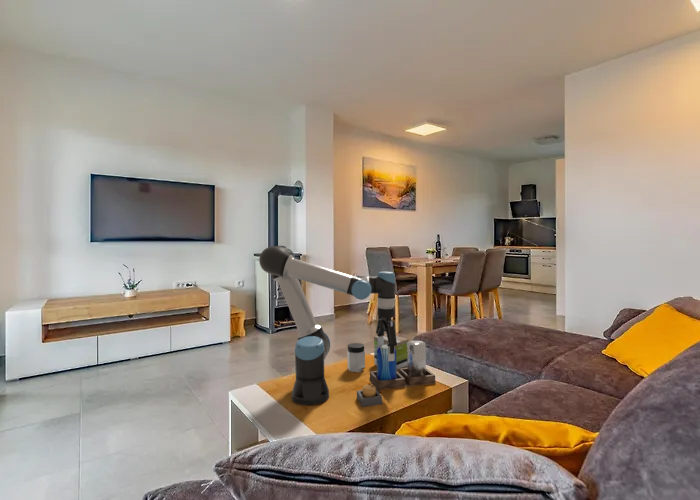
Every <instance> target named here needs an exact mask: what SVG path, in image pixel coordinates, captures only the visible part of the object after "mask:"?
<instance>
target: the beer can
mask: <svg viewBox="0 0 700 500" xmlns="http://www.w3.org/2000/svg"><path fill="white" fill-rule="evenodd" d="M387 345H388V344H381V345H379V348H378V350H377V365H376V371H377V378H378V379H379V380H380V381H383V380H392V379H397V372H398V371H397V370H396V350H395V359H394V361H388V346H387ZM396 371H397V372H396Z"/></svg>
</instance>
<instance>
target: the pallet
mask: <svg viewBox="0 0 700 500" xmlns="http://www.w3.org/2000/svg"><path fill="white" fill-rule="evenodd" d="M396 372H397V379H392V380H383V381H380V380H379V379H378V378H377V370H374V371H373V370H372V371H369V378H368V379H369V380H368V381H369V382H370V385H373V386H375V387H376V390H377V391H378V392H379V394H380V395H381V394H382V392H381V391H382V390H385V391H386V390H392V389H401V388H407V387H416V386H423V385H424V386H425V385H434V384H437V382H436V375H435V374H434V373H433V372H431V371H430V370H429V369H428V368H426V376H418V377H410V376H409V375H408V367H402V368H399V369H398V370H396Z"/></svg>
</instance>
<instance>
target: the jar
mask: <svg viewBox="0 0 700 500" xmlns="http://www.w3.org/2000/svg"><path fill="white" fill-rule="evenodd" d="M346 351H347V354H346V357H347V359H346V361H347V370H348V371H349V372H350V373H361V372H364V368H366V350H365V344H363V343H360V342H352V343H349V344H347V350H346Z"/></svg>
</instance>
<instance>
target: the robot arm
mask: <svg viewBox="0 0 700 500" xmlns="http://www.w3.org/2000/svg"><path fill="white" fill-rule="evenodd" d="M258 260H259V265H260V268H261V269H262V270H263V271H264V272H265V273H267V274H269V275H271V277H272V280H273V281H275V282H277V283H278V285H279V288H280V290H281V292H282V294H283V297H284V299H285V301H286V304H287V306H288V308H289V312H290V313H291V316H292V318H293V320H294V324H295V327H296V329H297V331H298V334H297V336H296V337H297V339H298V340H297V341H296V342H295V345H294V358H295V359H294V360H295V362H294V363H295V381H294V384H293V388H292V391H291V401H292V402H293V403H295V404H297V405H301V406H315V405H320V404H322V403H325V402H326V401H327V400H329V398H330V390H329V387H328V384H327V382H326V379H325V360H326V357H327V355H328V354H329V352H330V348H331V340H330V337H329V336H328V334H327V333H326V332H325V331H324V329H323V327H322V325H320V324H318V323H317V322H316V318H315V316H314V314H313V312H312V309H311V307H310V304H309V302H308V299H307V297H306V295H305V293H304V290H303V287H302V285H301V282H300V281H304V282H307V283H310V284H313V285H317V286H320V287H323V288H327V289H330V290H333V291H337V292H339V293H343V294H347V295H349V296H353V297H354V298H355V299H357V300H366V299H367V298H368V297H369V296H370V295H371V294H377V316H378V318H377V325H376V331H375V334H376V337H377V336H378V348H379V345H381V344H384V334H387V339H388V343H389V344H388V345H387V346H388V361H394V359H395V346H396V345H397V340H396V336H397V335H396V329H395V328H396V327H395V321H394V320H393V321H392V318H394V317H395V316H396V308H395V307H396V302H397V301H396V300H397V299H396V274H395V272H393V271H379V272H378V273H377V275H376V276H374V275H372V276H369V275H350V274H347V273H345V272H341V271H336V270H333V269H331V268H326V267H323V266H320V265H318V264H315V263H310V262H307V261H304V260H300V259H296V256H295V253H294V251H293V250H292V249H291V248H290V247H287V246H286V245H275V246H274V245H273V246H268V247H266V248H265V249H263V250H262V251H261V253H260V254H259V259H258ZM299 280H300V281H299ZM392 342H393V343H392Z"/></svg>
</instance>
